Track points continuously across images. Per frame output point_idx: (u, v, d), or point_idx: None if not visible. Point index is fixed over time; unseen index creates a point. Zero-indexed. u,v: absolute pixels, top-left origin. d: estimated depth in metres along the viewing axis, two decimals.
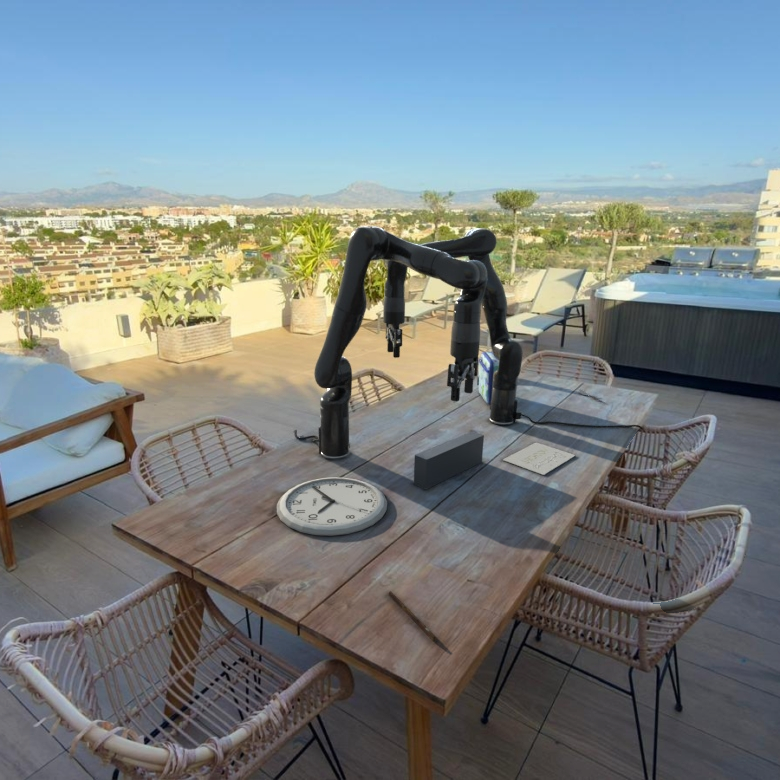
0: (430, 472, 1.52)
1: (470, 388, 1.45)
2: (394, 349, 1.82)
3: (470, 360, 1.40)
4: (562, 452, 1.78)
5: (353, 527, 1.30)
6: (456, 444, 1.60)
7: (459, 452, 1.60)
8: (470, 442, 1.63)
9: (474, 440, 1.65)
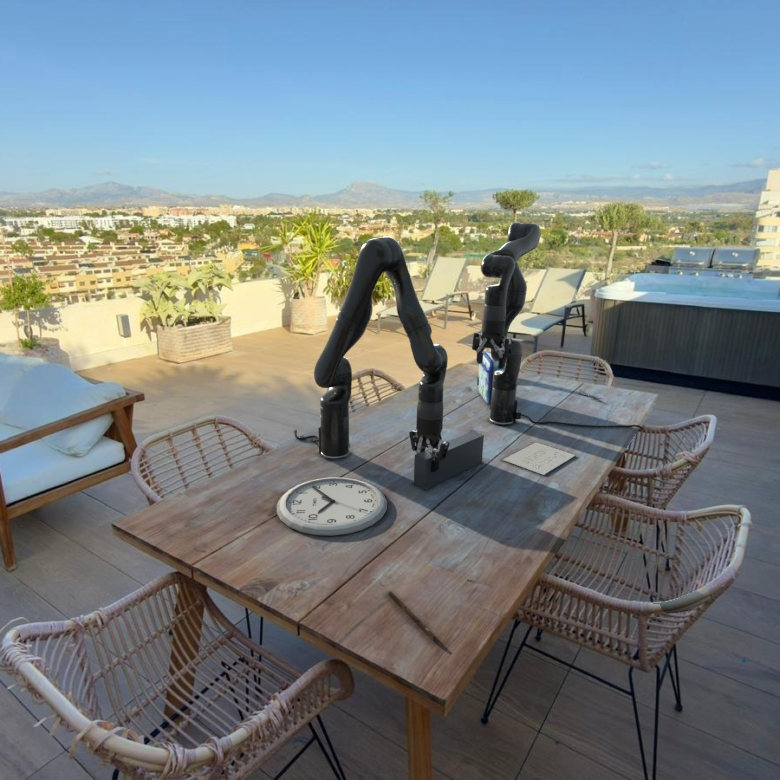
0: (430, 472, 1.52)
1: None
2: None
3: None
4: (562, 452, 1.78)
5: (353, 527, 1.30)
6: (456, 444, 1.60)
7: (459, 452, 1.60)
8: (470, 442, 1.63)
9: (474, 440, 1.65)
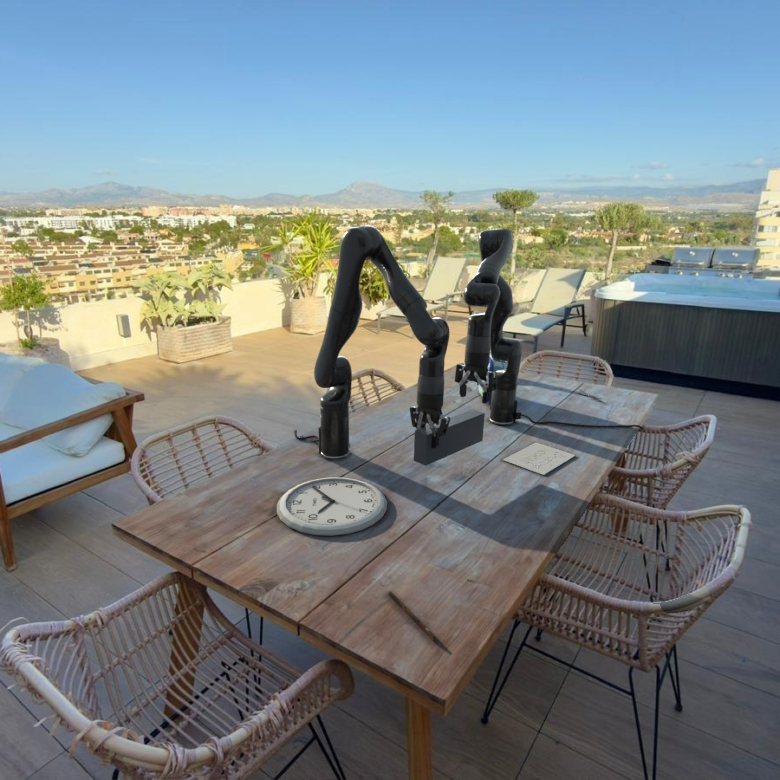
0: (430, 449, 1.50)
1: None
2: None
3: None
4: (562, 452, 1.78)
5: (353, 527, 1.30)
6: (456, 421, 1.58)
7: (460, 429, 1.58)
8: (471, 419, 1.61)
9: (475, 418, 1.63)
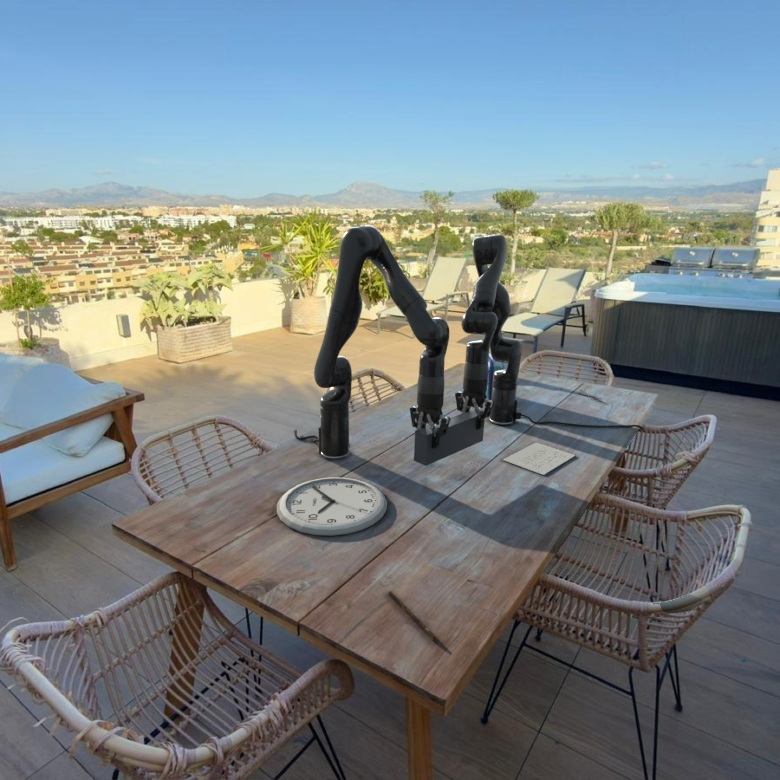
0: (430, 449, 1.50)
1: None
2: None
3: None
4: (562, 452, 1.78)
5: (353, 527, 1.30)
6: (456, 421, 1.58)
7: (460, 429, 1.58)
8: (471, 420, 1.61)
9: (475, 418, 1.63)
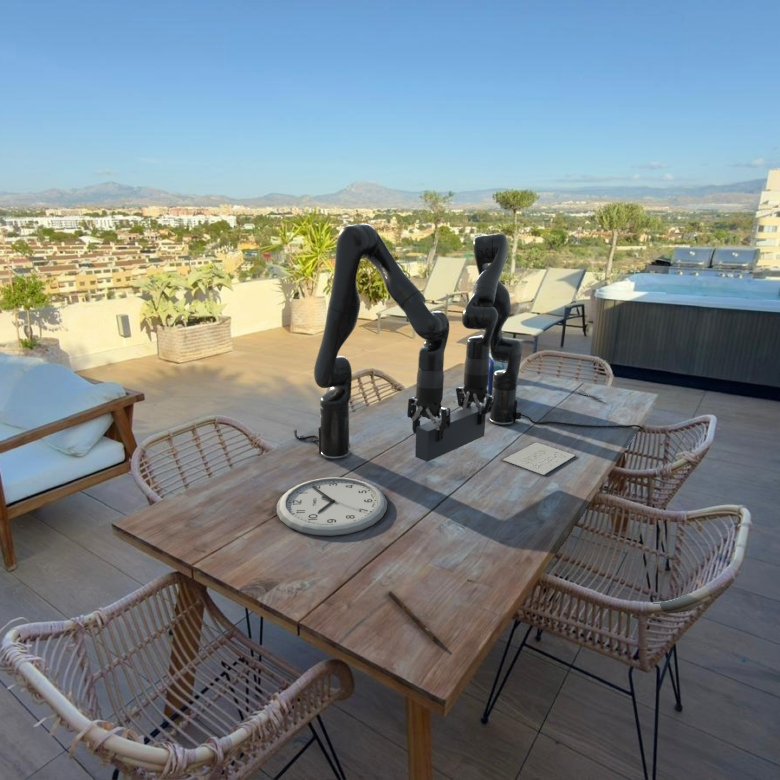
0: (432, 445, 1.50)
1: None
2: None
3: None
4: (562, 452, 1.78)
5: (353, 527, 1.30)
6: (457, 417, 1.58)
7: (461, 425, 1.58)
8: (472, 415, 1.61)
9: (476, 413, 1.62)
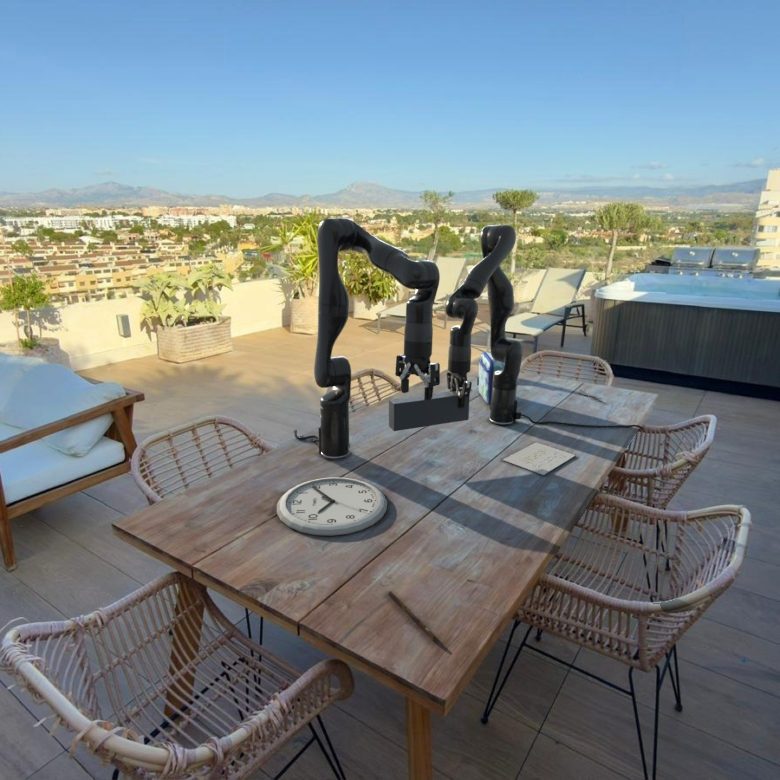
0: (399, 417, 1.70)
1: (407, 387, 1.46)
2: None
3: None
4: (562, 452, 1.78)
5: (353, 527, 1.30)
6: (434, 397, 1.74)
7: (436, 404, 1.74)
8: (451, 397, 1.75)
9: (456, 396, 1.76)
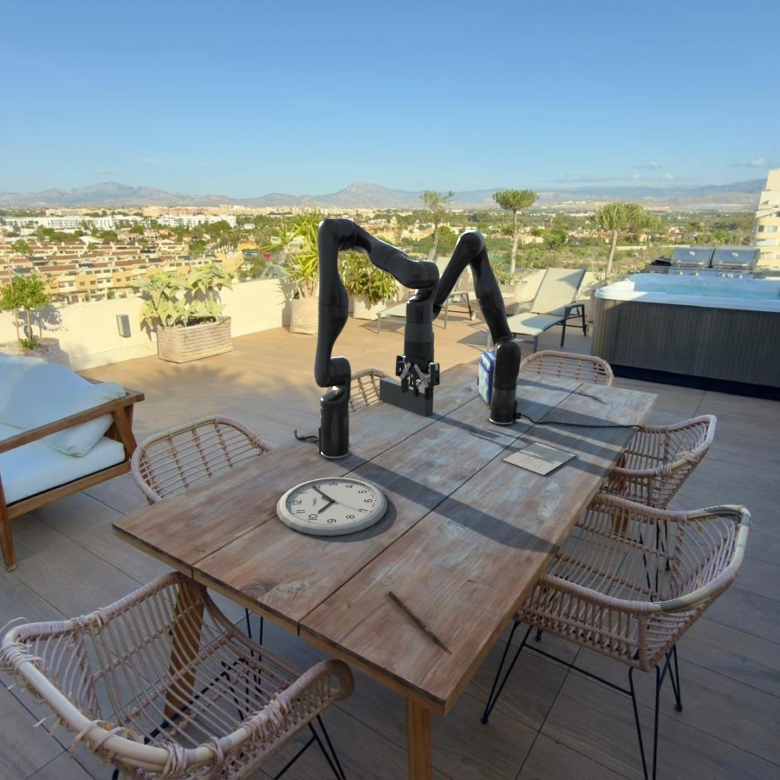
0: (382, 390, 2.28)
1: (407, 387, 1.46)
2: None
3: None
4: (562, 452, 1.78)
5: (353, 527, 1.30)
6: None
7: None
8: None
9: None
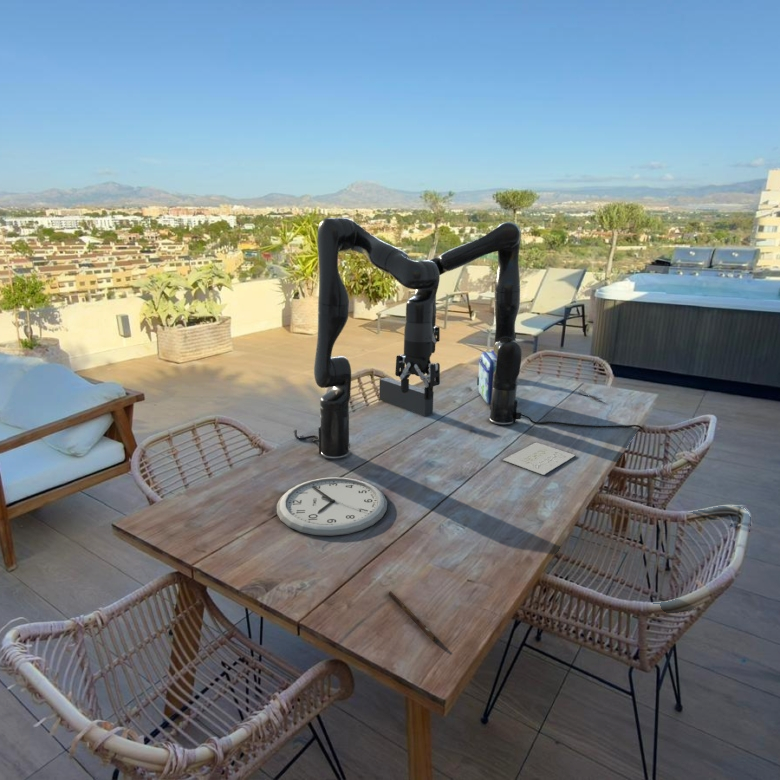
0: (382, 390, 2.28)
1: (407, 387, 1.46)
2: (434, 345, 2.09)
3: None
4: (562, 452, 1.78)
5: (353, 527, 1.30)
6: None
7: None
8: (413, 391, 2.13)
9: (416, 392, 2.12)
